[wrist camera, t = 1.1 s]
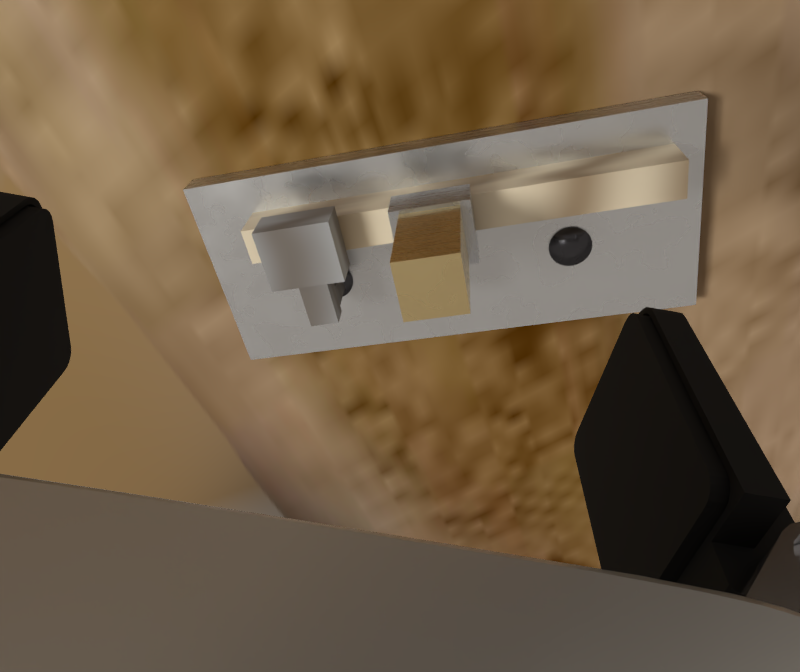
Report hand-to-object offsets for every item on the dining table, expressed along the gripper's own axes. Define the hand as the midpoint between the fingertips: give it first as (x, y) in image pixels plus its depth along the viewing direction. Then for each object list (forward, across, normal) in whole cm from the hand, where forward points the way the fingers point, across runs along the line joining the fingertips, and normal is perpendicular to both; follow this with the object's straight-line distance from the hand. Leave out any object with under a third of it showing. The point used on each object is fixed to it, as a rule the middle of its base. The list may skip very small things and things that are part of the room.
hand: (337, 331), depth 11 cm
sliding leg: (+25, -3, +9) cm, 26 cm away
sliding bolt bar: (+25, -4, +9) cm, 27 cm away
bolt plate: (+27, -4, +10) cm, 29 cm away
